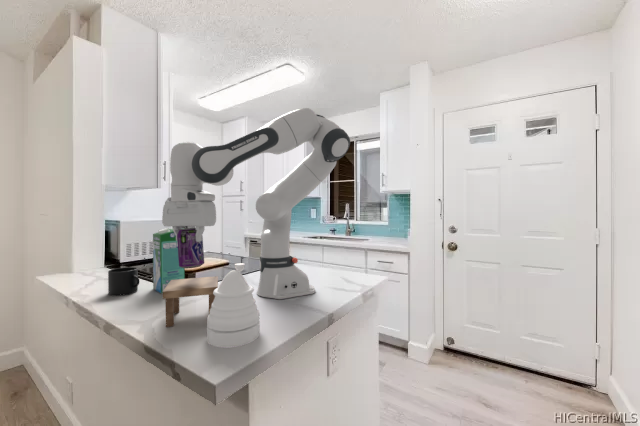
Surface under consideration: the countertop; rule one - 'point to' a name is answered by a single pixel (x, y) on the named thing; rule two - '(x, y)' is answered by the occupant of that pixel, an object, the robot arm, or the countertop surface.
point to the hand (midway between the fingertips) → (188, 241)
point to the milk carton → (165, 259)
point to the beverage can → (189, 249)
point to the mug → (123, 281)
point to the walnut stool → (187, 293)
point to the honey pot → (233, 312)
